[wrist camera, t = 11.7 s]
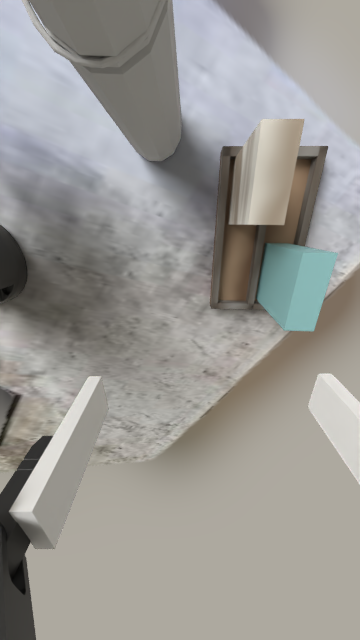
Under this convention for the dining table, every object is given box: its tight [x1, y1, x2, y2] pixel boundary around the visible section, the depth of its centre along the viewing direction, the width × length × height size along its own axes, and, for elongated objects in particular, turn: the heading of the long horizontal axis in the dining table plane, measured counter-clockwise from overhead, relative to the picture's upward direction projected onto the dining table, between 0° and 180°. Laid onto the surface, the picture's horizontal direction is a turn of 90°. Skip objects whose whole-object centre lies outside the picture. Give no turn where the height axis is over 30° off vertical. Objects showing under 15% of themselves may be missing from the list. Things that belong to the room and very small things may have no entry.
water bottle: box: [22, 0, 182, 161], centre depth 17 cm, size 9×8×25 cm
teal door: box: [256, 243, 338, 331], centre depth 29 cm, size 4×9×12 cm, turn 179°
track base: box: [210, 119, 328, 310], centre depth 28 cm, size 13×22×13 cm, turn 179°
